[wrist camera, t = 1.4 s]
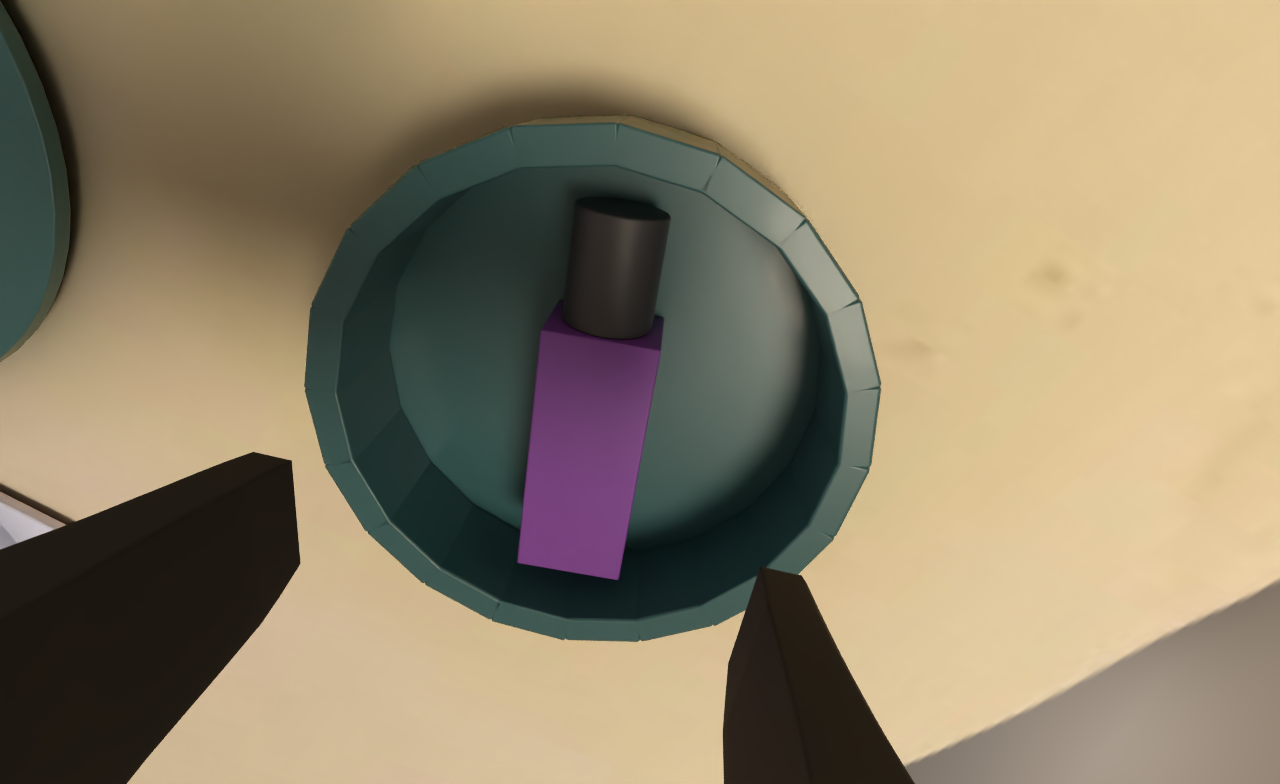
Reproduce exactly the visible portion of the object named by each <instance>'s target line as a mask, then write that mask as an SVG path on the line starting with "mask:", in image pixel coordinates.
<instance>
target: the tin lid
mask: <svg viewBox="0 0 1280 784" xmlns="http://www.w3.org/2000/svg"><path fill="white" fill-rule="evenodd" d="M70 212H71V210H70V200H69V189H68V179H67V170H66V166H65V161H64V157H63V152H62V148H61V143H60V139H59V134H58V130H57V127H56V124H55V121H54V118H53V115H52V112H51V109H50V106H49V103H48V100H47V97H46V94H45V91H44V88H43V85H42V83H41V80H40V78H39V76H38V74H37V72H36V69H35V67H34V65H33V63H32V60H31V58H30V56H29V54H28V51H27V49H26V47H25V45H24V43H23V40H22V38H21V36H20V35H19V33H18V31H17V29H16V27H15V26H14V24H13V22H12V20H11V19H10V17H9V15H8V13H7V12H6V10H5V8H4V6H3V4H2V3H1V1H0V362H1V361H2V360H4V359H5V358H7V357H8V356H9V355H11V354H12V353H14V352H15V351H17V350H18V349H19V348H20V347H21V346H22V345H23V344H24V343H25V342H26V341H27V340H28V339H29V337H30V336H31V335H32V334H33V333H34V332H35V331H36V330H37V329H38V327H39V326H40V324H41V322H42V321H43V319H44V318H45V316H46V314H47V313H48V311H49V310H50V308H51V306H52V305H53V302H54V299H55V297H56V294H57V292H58V289H59V286H60V284H61V281H62V279H63V275H64V270H65V265H66V259H67V254H68V249H69V237H70Z"/></svg>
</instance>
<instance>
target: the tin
mask: <svg viewBox="0 0 1280 784" xmlns="http://www.w3.org/2000/svg"><path fill="white" fill-rule="evenodd" d="M584 197H608V198H617V199H624V200H630V201H635V202H639V203H644V204H647V205H651V206H654V207H657V208H659V209H662V210H664V211H666V212H667V213H669V214H670V216H671V222H670V227H669V233H668V239H667V244H666V250H665V255H664V261H663V267H662V272H661V278H660V284H659V289H658V295H657V301H656V306H655V312H654V316H656V317H662V318H664V329H663V339H662V348H661V355H660V361H659V366H658V371H657V377H656V382H655V387H654V393H653V398H652V404H651V409H650V414H649V420H648V425H647V430H646V436H645V441H644V447H643V452H642V457H641V463H640V468H639V473H638V479H637V484H636V489H635V495H634V500H633V506H632V511H631V516H630V522H629V527H628V532H627V538H626V543H625V549H624V554H623V559H622V565H621V570H620V575H619V579H618V580H614V579H608V578H602V577H596V576H591V575H585V574H579V573H573V572H567V571H561V570H556V569H550V568H544V567H538V566H532V565H527V564H521V563H518V562H517V558H518V548H519V538H520V528H521V518H522V508H523V498H524V489H525V479H526V469H527V459H528V449H529V439H530V429H531V420H532V410H533V400H534V390H535V380H536V370H537V361H538V351H539V341H540V331H541V329H542V328H543V326H544V324H545V323H546V321H547V319H548V318H549V316H550V314H551V313H552V311H553V309H554V308H555V306H556V304H557V303H558V301H559V300H564V293H565V284H566V275H567V267H568V258H569V249H570V240H571V232H572V223H573V214H574V206H575V202H576V200H577V199H580V198H584ZM304 386H305V388H306V389H305V393H306V397H307V400H308V404H309V408H310V412H311V415H312V419H313V423H314V427H315V430H316V434H317V438H318V442H319V445H320V449H321V453H322V457H323V460H324V463H325V464H326V465H325V467H326V469H327V470H328V472H329V474H330V475H331V477H332V478H333V480H334V481H335V483H336V485H337V486H338V488H339V489H340V491H341V493H342V494H343V496H344V497H345V499H346V501H347V502H348V504H349V505H350V507H351V509H352V510H353V512H354V513H355V515H356V516H357V518H358V520H359V521H360V523H361V524H362V526H363V528H364V529H365V531H368V534H369V535H371V536H372V537H373V538H374V539H375V540H376V541H377V542H378V543H379V544H380V545H381V546H383V547H384V548H385V549H386V550H387V551H388V552H389V553H390V554H391V555H392V556H394V557H395V558H396V559H397V560H398V561H399V562H400V563H401V564H402V565H403V566H404V567H406V568H407V569H408V570H409V571H410V572H411V573H412V574H413V575H414V576H415V577H416V578H418V579H419V580H420V581H421V582H422V583H425V584H426V585H427V586H429V587H431V588H432V589H434V590H436V591H438V592H440V593H442V594H443V595H445V596H447V597H449V598H451V599H453V600H455V601H456V602H458V603H460V604H462V605H464V606H466V607H468V608H469V609H471V610H473V611H475V612H477V613H479V614H480V615H482V616H484V617H486V618H488V619H492V621H494V622H497V623H501V624H505V625H509V626H513V627H516V628H520V629H524V630H528V631H531V632H535V633H539V634H543V635H546V636H550V637H554V638H558V639H561V640H564V639H565V638H566V639H567V640H591V641H629V642H638V641H639V640H641V641H646V640H651V639H655V638H660V637H664V636H669V635H673V634H678V633H682V632H687V631H691V630H696V629H700V628H705V627H710V626H712V625H714V626H716V625H718V624H719V623H721V622H723V621H725V620H727V619H729V618H731V617H733V616H735V615H737V614H739V613H741V612H742V611H744V610H746V608H747V605H748V602H749V599H750V596H751V593H752V590H753V587H754V584H755V581H756V578H757V575H758V572H759V569H760V566H761V567H766V568H770V569H775V570H779V571H783V572H788V573H792V574H797V575H798V574H799V573H800V572H801V571H802V570H803V569H804V568H805V567H806V566H807V565H808V564H809V563H810V562H811V561H812V560H813V559H814V558H815V557H816V556H817V555H818V554H819V553H820V552H821V551H822V550H823V549H824V548H825V547H826V546H827V545H828V544H830V543H831V542H832V541H833V539H834V537H835V536H836V535H837V533H838V531H839V529H840V527H841V525H842V523H843V521H844V519H845V517H846V515H847V513H848V511H849V509H850V507H851V505H852V504H853V502H854V500H855V498H856V496H857V494H858V492H859V490H860V488H861V486H862V484H863V482H864V480H865V478H866V476H867V475H868V473H869V467H870V466H871V463H872V455H873V447H874V440H875V432H876V424H877V416H878V408H879V401H880V393H881V388H880V386H881V381H880V376H879V372H878V368H877V364H876V360H875V355H874V351H873V347H872V343H871V338H870V334H869V330H868V326H867V321H866V317H865V313H864V309H863V305H862V301H861V300H860V299H859V295H858V293H857V292H856V290H855V289H854V287H853V286H852V284H851V283H850V281H849V280H848V278H847V277H846V275H845V274H844V272H843V271H842V269H841V268H840V266H839V265H838V263H837V262H836V260H835V259H834V257H833V256H832V254H831V253H830V251H829V250H828V248H827V247H826V245H825V244H824V242H823V241H822V239H821V238H820V236H819V235H818V233H817V232H816V230H815V229H814V227H813V226H812V224H811V223H810V221H809V220H808V219H807V218H806V216H805V215H804V214H803V213H802V212H801V211H800V209H799V208H798V207H797V206H796V205H795V204H794V202H793V201H792V200H791V199H790V198H789V197H788V195H787V194H786V193H784V192H783V191H782V190H780V189H779V188H778V187H776V186H775V185H774V184H772V183H771V182H770V181H768V180H767V179H766V178H764V177H763V176H762V175H760V174H759V173H758V172H757V171H756V170H755V169H753V168H752V167H751V166H750V165H748V164H746V163H745V162H743V161H742V160H740V159H739V158H737V157H736V156H735V155H733V154H732V153H731V152H729V151H728V150H727V149H725V148H724V147H723V146H721V145H720V144H719V143H716V142H714V141H712V140H709V139H705V138H702V137H699V136H696V135H694V134H691V133H689V132H687V131H683V130H680V129H677V128H673V127H670V126H667V125H663V124H660V123H657V122H653V121H648V120H645V119H642V118H639V117H636V116H629V115H608V116H574V117H548V118H540V119H536V120H532V121H527V122H523V123H519V124H515V125H512V126H508V127H505V128H502V129H500V130H497V131H495V132H492V133H490V134H487V135H485V136H482V137H480V138H477V139H475V140H472V141H470V142H467V143H465V144H462V145H460V146H457V147H455V148H452V149H450V150H447V151H445V152H443V153H440V154H438V155H435V156H433V157H430V158H428V159H425V160H423V161H421V162H420V163H419V164H418V165H415V166H413V167H412V168H411V169H410V170H409V171H407V172H406V173H405V174H404V175H403V176H402V177H401V178H400V179H399V180H398V181H397V182H396V183H395V184H394V185H392V186H391V187H390V188H389V189H388V190H387V191H386V192H385V193H384V194H383V195H382V196H381V197H380V198H379V199H378V200H376V201H375V202H374V203H373V204H372V205H371V206H370V207H369V208H368V209H367V210H366V211H365V212H364V213H363V214H361V215H360V216H359V217H358V218H357V219H356V220H355V221H354V222H353V223H352V224H351V226H350V228H348V229H347V230H346V232H345V234H344V236H343V238H342V240H341V242H340V245H339V247H338V249H337V251H336V253H335V255H334V257H333V259H332V262H331V264H330V266H329V268H328V270H327V272H326V274H325V276H324V278H323V281H322V283H321V285H320V287H319V289H318V291H317V293H316V295H315V298H314V300H313V302H312V307H311V308H310V319H309V332H308V345H307V359H306V372H305V385H304Z"/></svg>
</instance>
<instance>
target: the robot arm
mask: <svg viewBox="0 0 1280 784" xmlns="http://www.w3.org/2000/svg"><path fill="white" fill-rule="evenodd" d="M299 565H300V554H299V542H298V530H297V519H296V507H295V495H294V483H293V472H292V461H291V460H286V459H282V458H277V457H273V456H269V455H264V454H260V453H255V452H252V453H249V454H246V455H243V456H241V457H238V458H235V459H232V460H229V461H227V462H224V463H221V464H219V465H216V466H214V467H211V468H209V469H206V470H203V471H201V472H198V473H196V474H193V475H191V476H189V477H186V478H184V479H181V480H179V481H176V482H174V483H171V484H169V485H166V486H164V487H161V488H159V489H157V490H154V491H152V492H149V493H147V494H144V495H142V496H139V497H137V498H134V499H132V500H129V501H127V502H124V503H122V504H119V505H117V506H114V507H112V508H109V509H107V510H104V511H102V512H99V513H97V514H94V515H92V516H89V517H87V518H84V519H81V520H79V521H76V522H73V523H71V524H68V525H66V524H64V523H62V522H60V521H58V520H56V519H54V518H52V517H50V516H48V515H46V514H44V513H42V512H40V511H38V510H36V509H34V508H32V507H30V506H28V505H26V504H24V503H22V502H20V501H18V500H16V499H14V498H12V497H10V496H8V495H6V494H4V493H2V492H0V784H127V782H128V781H129V780H130V779H131V777H132V776H133V775H134V774H135V772H136V771H137V770H138V769H139V767H140V766H141V765H142V764H143V762H144V761H145V760H146V759H147V757H148V756H149V755H150V754H151V753H152V752H153V750H154V749H155V748H156V747H157V746H158V744H159V743H160V742H161V741H162V740H163V739H164V737H165V736H166V735H167V734H168V733H169V732H170V730H171V729H172V728H173V727H174V726H175V725H176V723H177V722H178V721H179V720H180V719H181V718H182V716H183V715H184V714H185V713H186V712H187V711H188V709H189V708H190V707H191V706H192V705H193V704H194V702H195V701H196V700H197V699H198V698H199V697H200V695H201V694H202V693H203V692H204V691H205V690H206V688H207V687H208V686H209V685H210V684H211V683H212V681H213V680H214V679H215V678H216V677H217V676H218V674H219V673H220V672H221V671H222V670H223V669H224V667H225V666H226V665H227V664H228V663H229V661H230V660H231V659H232V658H233V657H234V655H235V654H236V653H237V652H238V651H239V650H240V648H241V647H242V646H243V645H244V644H245V642H246V641H247V640H248V639H249V638H250V636H251V635H252V634H253V633H254V632H255V630H256V629H257V628H258V627H259V625H260V624H261V623H262V622H263V620H264V619H265V617H266V616H267V614H268V613H269V611H270V610H271V608H272V607H273V605H274V604H275V603H276V601H277V600H278V598H279V597H280V595H281V594H282V592H283V590H284V589H285V587H286V586H287V584H288V582H289V581H290V579H291V578H292V576H293V575H294V573H295V571H296V570H297V568H298V567H299ZM723 760H724V784H915V783H914V782H913V780H912V779H911V777H910V775H909V774H908V772H907V770H906V769H905V767H904V765H903V764H902V762H901V761H900V759H899V757H898V756H897V754H896V752H895V751H894V749H893V748H892V746H891V744H890V743H889V741H888V739H887V737H886V736H885V734H884V732H883V731H882V729H881V727H880V725H879V724H878V722H877V720H876V719H875V717H874V715H873V713H872V711H871V710H870V708H869V706H868V704H867V702H866V700H865V699H864V697H863V695H862V693H861V691H860V690H859V688H858V686H857V684H856V682H855V680H854V679H853V677H852V675H851V673H850V671H849V669H848V667H847V665H846V663H845V662H844V660H843V658H842V656H841V654H840V652H839V650H838V648H837V646H836V644H835V642H834V640H833V638H832V636H831V634H830V632H829V630H828V628H827V626H826V624H825V622H824V619H823V617H822V615H821V613H820V611H819V609H818V607H817V605H816V603H815V600H814V598H813V596H812V594H811V592H810V590H809V588H808V585H807V583H806V582H805V580H804V579H803V577H802V576H801V575H797V574H792V573H788V572H783V571H779V570H775V569H770V568H766V567H761V566H760V569H759V572H758V575H757V578H756V581H755V584H754V587H753V590H752V593H751V596H750V599H749V602H748V605H747V608H746V611H745V614H744V617H743V620H742V624H741V627H740V630H739V633H738V636H737V639H736V642H735V645H734V648H733V651H732V654H731V657H730V660H729V663H728V674H727V685H726V697H725V710H724V723H723Z"/></svg>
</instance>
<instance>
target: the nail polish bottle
mask: <svg viewBox="0 0 1280 784" xmlns="http://www.w3.org/2000/svg"><path fill="white" fill-rule="evenodd" d="M670 222H671V216H670V214H669V213H667V212H666V211H664V210H662V209H659V208H657V207H654V206H651V205H647V204H644V203H639V202H635V201H630V200H624V199H617V198H608V197H584V198H580V199H577V200H576V202H575V206H574V214H573V223H572V232H571V240H570V249H569V258H568V267H567V275H566V284H565V293H564V300H559V301H558V303H557V304H556V306H555V308H554V309H553V311H552V313H551V314H550V316H549V318H548V319H547V321H546V323H545V324H544V326H543V328H542V329H541V331H540V341H539V351H538V361H537V370H536V380H535V390H534V400H533V410H532V420H531V429H530V439H529V449H528V459H527V469H526V479H525V489H524V498H523V508H522V518H521V528H520V538H519V548H518V558H517V562H518V563H521V564H527V565H532V566H538V567H544V568H550V569H556V570H561V571H567V572H573V573H579V574H585V575H591V576H596V577H602V578H608V579H614V580H618V579H619V575H620V570H621V565H622V559H623V554H624V549H625V543H626V538H627V532H628V527H629V522H630V516H631V511H632V506H633V500H634V495H635V489H636V484H637V479H638V473H639V468H640V463H641V457H642V452H643V447H644V441H645V436H646V430H647V425H648V420H649V414H650V409H651V404H652V398H653V393H654V387H655V382H656V377H657V371H658V366H659V361H660V355H661V348H662V339H663V329H664V318H662V317H656V316H654V312H655V306H656V301H657V295H658V289H659V284H660V278H661V272H662V267H663V261H664V255H665V250H666V244H667V239H668V233H669V227H670Z"/></svg>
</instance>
